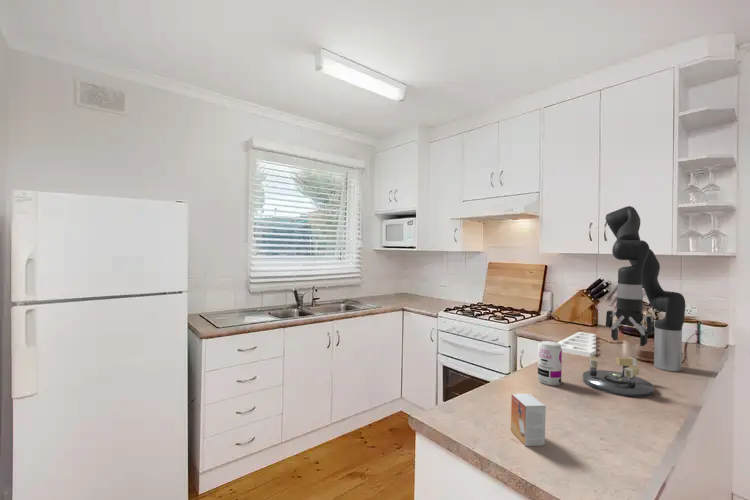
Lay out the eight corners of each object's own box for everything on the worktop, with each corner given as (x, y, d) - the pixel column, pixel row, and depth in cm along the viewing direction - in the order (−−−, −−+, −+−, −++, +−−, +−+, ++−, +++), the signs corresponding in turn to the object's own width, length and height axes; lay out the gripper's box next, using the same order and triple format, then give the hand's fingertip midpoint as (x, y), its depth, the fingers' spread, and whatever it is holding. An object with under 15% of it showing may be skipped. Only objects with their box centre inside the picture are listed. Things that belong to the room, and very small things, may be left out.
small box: (510, 431, 101) (510, 393, 101) (529, 430, 101) (530, 392, 101) (524, 446, 93) (525, 405, 93) (545, 446, 93) (546, 405, 93)
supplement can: (560, 380, 140) (561, 341, 140) (561, 387, 133) (562, 347, 133) (537, 377, 144) (538, 339, 144) (537, 384, 136) (538, 344, 136)
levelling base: (600, 371, 151) (600, 361, 151) (663, 389, 132) (664, 378, 132) (571, 381, 139) (571, 371, 139) (636, 402, 120) (636, 390, 120)
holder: (579, 336, 215) (579, 331, 215) (614, 342, 202) (614, 337, 202) (551, 350, 183) (551, 345, 183) (591, 358, 171) (591, 353, 171)
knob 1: (589, 372, 142) (589, 355, 142) (595, 373, 141) (596, 356, 141) (590, 377, 137) (590, 359, 137) (597, 378, 136) (597, 360, 136)
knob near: (619, 376, 139) (619, 358, 139) (615, 374, 141) (615, 357, 141) (636, 376, 138) (636, 359, 138) (632, 374, 141) (632, 357, 141)
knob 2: (632, 383, 131) (632, 365, 131) (639, 385, 129) (639, 367, 129) (623, 387, 127) (624, 368, 127) (630, 389, 125) (631, 370, 125)
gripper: (602, 295, 131) (601, 339, 131) (648, 300, 119) (647, 349, 119) (612, 294, 135) (612, 337, 135) (658, 298, 123) (657, 346, 123)
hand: (628, 342), depth 127 cm, fingers open, 8 cm apart
